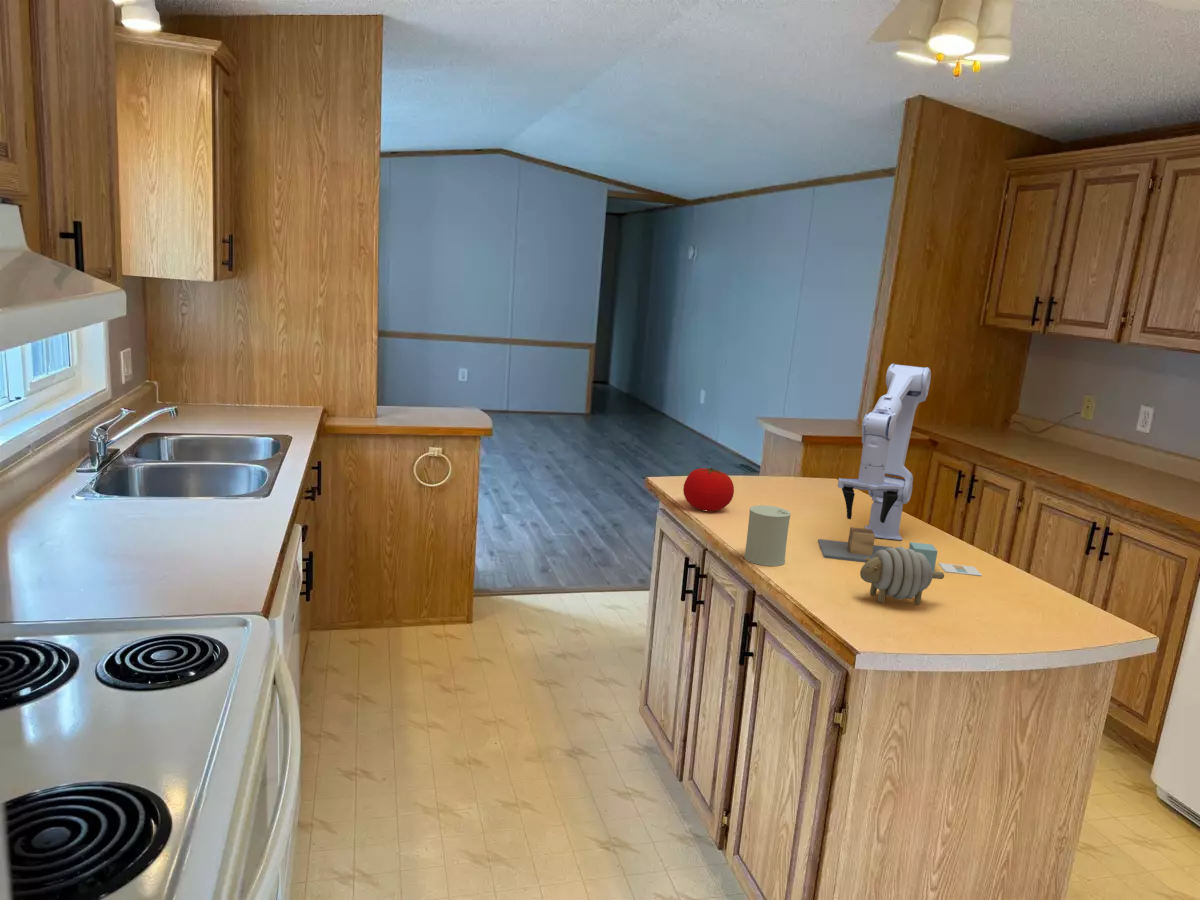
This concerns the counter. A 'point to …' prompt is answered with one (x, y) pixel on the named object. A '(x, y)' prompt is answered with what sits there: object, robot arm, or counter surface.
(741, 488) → the counter surface
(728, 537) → the counter surface
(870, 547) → the brown wooden cube
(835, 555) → the baseplate
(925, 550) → the teal block
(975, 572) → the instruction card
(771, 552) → the can
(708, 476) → the tomato
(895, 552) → the toy sheep
